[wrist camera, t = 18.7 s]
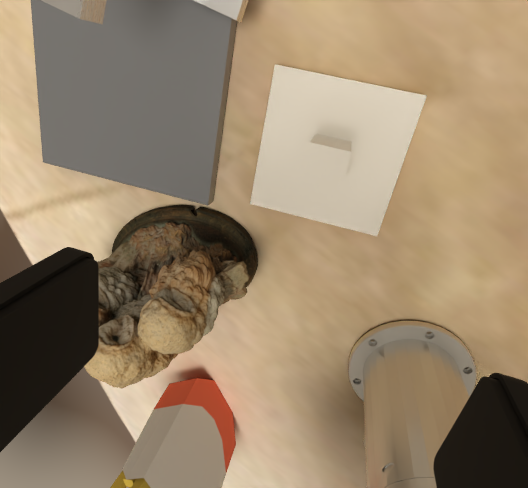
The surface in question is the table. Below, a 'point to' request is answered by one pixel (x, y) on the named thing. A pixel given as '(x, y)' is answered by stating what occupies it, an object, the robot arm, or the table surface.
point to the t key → (93, 3)
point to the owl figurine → (166, 288)
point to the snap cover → (333, 148)
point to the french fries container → (183, 440)
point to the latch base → (135, 93)
